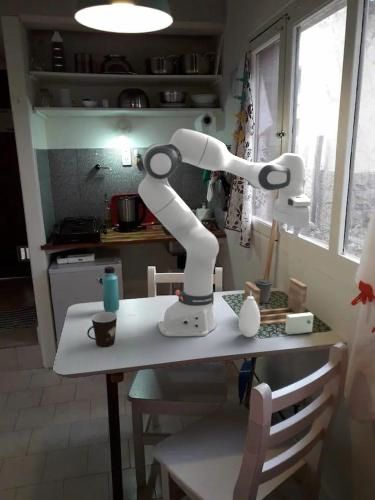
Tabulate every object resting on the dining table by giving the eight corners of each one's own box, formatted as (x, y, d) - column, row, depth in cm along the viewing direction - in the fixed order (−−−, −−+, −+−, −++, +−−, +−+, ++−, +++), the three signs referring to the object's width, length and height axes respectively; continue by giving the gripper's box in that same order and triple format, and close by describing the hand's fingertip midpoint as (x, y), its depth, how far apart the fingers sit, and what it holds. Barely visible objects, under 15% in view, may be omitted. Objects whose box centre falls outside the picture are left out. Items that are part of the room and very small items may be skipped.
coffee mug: (112, 335, 140) (111, 310, 138) (121, 345, 133) (120, 318, 131) (81, 343, 134) (79, 317, 132) (89, 354, 127) (87, 326, 125)
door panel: (289, 335, 142) (290, 318, 140) (285, 331, 145) (286, 314, 143) (313, 332, 144) (314, 315, 142) (308, 329, 147) (310, 312, 145)
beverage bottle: (122, 313, 159) (120, 267, 155) (107, 317, 156) (105, 270, 151) (115, 308, 165) (113, 264, 160) (101, 311, 161) (98, 266, 156)
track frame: (253, 326, 149) (255, 290, 145) (243, 316, 158) (245, 282, 154) (303, 321, 154) (307, 286, 150) (291, 311, 163) (294, 278, 160)
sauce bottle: (236, 331, 144) (238, 286, 140) (257, 331, 145) (259, 286, 140) (239, 341, 137) (241, 294, 133) (261, 341, 137) (264, 294, 133)
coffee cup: (257, 304, 170) (258, 283, 168) (250, 298, 178) (251, 278, 175) (274, 303, 172) (275, 282, 169) (267, 297, 179) (268, 277, 177)
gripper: (269, 196, 148) (268, 231, 152) (297, 202, 129) (294, 242, 133) (284, 195, 150) (282, 230, 153) (313, 201, 131) (310, 241, 134)
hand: (288, 235), depth 143 cm, fingers open, 8 cm apart
